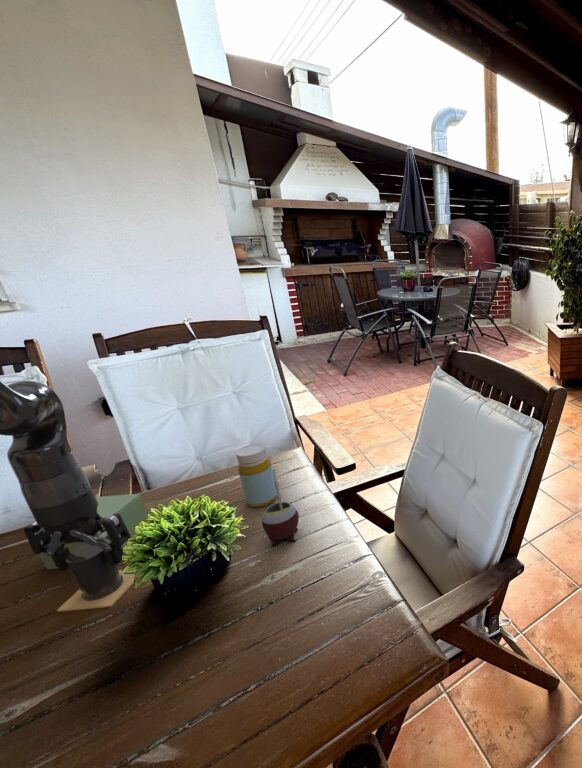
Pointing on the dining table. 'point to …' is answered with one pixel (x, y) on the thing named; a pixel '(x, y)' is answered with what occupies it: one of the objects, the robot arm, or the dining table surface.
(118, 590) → the coaster
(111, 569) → the holder
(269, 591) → the dining table surface
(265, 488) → the bottle
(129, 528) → the block
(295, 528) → the mate gourd
